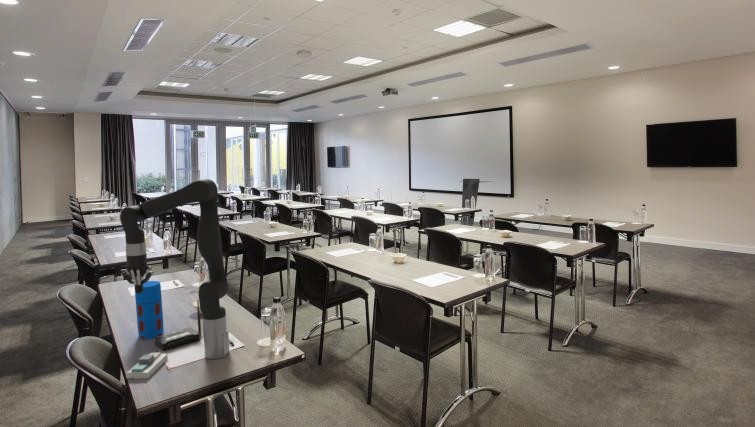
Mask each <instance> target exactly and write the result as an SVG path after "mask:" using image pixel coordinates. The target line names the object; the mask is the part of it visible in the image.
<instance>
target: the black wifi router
mask: <svg viewBox="0 0 755 427" xmlns="http://www.w3.org/2000/svg"><path fill="white" fill-rule="evenodd" d="M196 301H197V303H196V304H197V325H198V326H197V328H198V329H197V330H198V331H197V330H195V329H193V327H191V326H190V327H186V328H183V329H179V330H175V331H172V332H168V333H163V334H162V335H160V336H157V337H154V338H153V339H154V345H155V346H156V347H157V348H158V349H159V350H160V351H162V352H163V351H165V352H168V351H170V350H174V349H178V348H180V347H184V346H188V345H190V344H191V345H192V344H193V343H197V342H201V340H200V339H201V338H200V335H201V334H202V328H201V327H202V325H201V315H200V314H201V311H200V304H199V299H197V300H196Z"/></svg>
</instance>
